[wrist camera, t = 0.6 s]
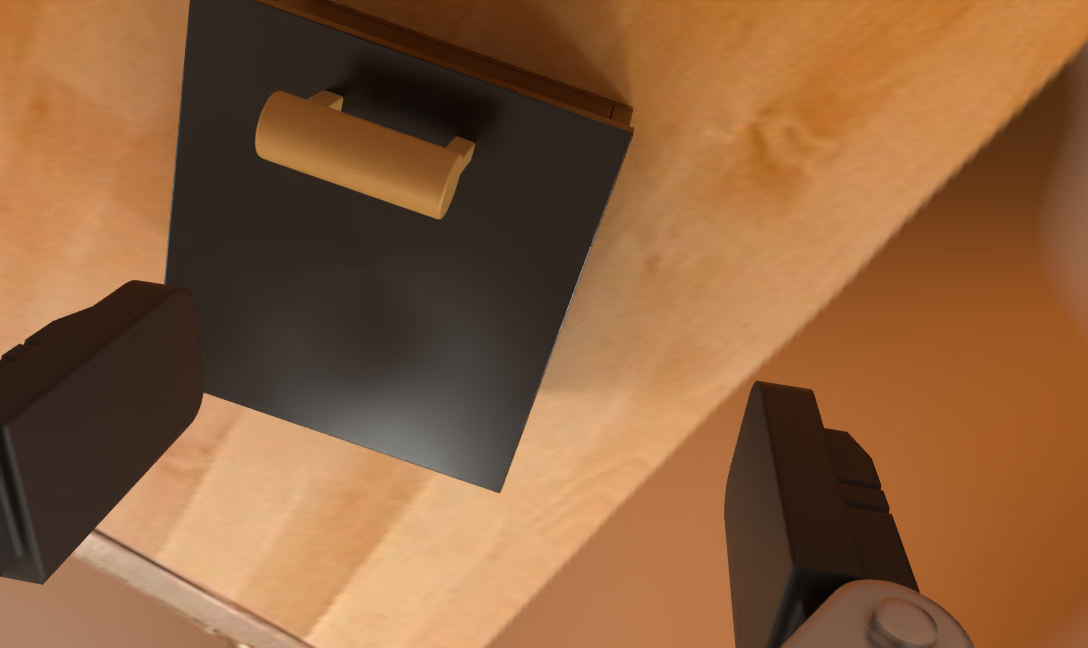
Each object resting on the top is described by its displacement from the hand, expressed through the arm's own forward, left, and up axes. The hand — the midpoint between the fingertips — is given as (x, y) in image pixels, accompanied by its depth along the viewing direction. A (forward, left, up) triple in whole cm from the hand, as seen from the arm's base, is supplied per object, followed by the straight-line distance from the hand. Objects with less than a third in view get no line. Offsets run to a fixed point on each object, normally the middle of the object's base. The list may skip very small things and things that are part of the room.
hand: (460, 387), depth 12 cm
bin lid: (+8, -6, -17) cm, 19 cm away
